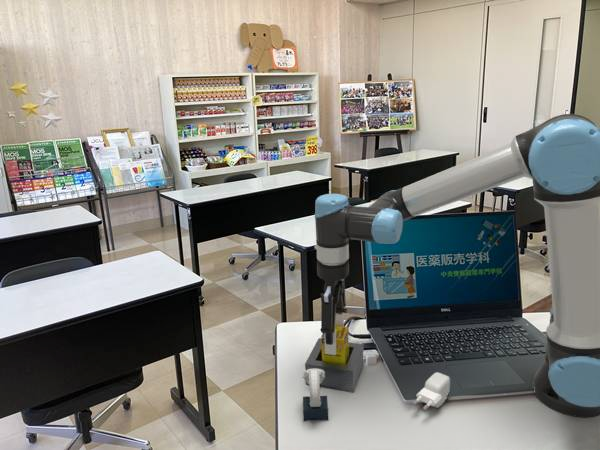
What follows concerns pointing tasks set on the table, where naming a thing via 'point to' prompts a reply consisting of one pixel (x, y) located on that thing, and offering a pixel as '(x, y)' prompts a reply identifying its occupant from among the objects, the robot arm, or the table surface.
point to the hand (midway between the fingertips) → (334, 344)
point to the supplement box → (338, 347)
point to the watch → (314, 397)
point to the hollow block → (338, 368)
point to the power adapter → (434, 391)
